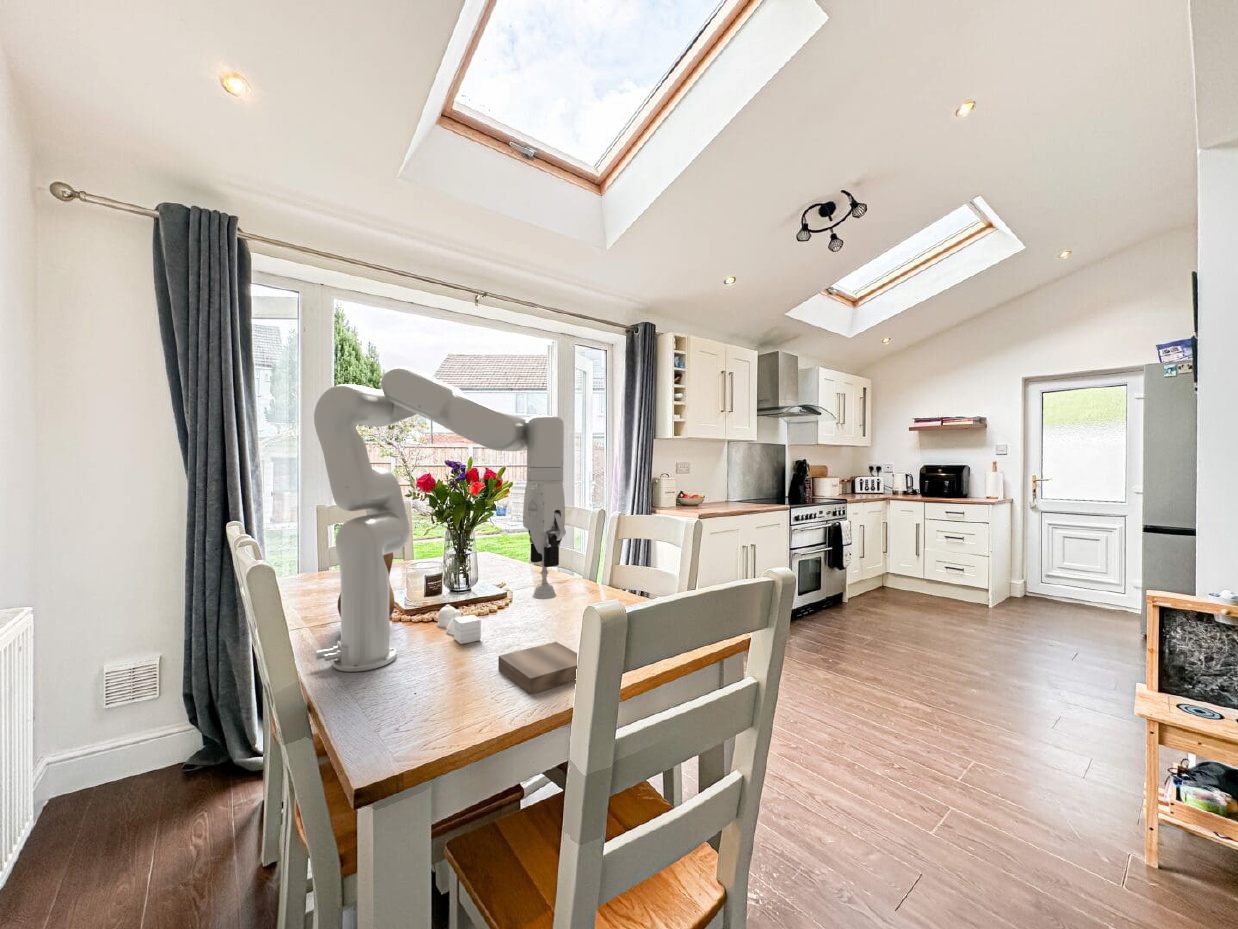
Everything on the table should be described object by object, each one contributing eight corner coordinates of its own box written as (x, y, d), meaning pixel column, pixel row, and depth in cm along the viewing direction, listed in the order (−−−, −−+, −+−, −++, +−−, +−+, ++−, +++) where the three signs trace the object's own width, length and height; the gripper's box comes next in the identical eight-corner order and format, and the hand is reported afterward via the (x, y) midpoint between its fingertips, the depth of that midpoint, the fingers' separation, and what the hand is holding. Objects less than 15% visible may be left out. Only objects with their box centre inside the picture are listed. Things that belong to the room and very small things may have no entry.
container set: (481, 641, 127) (481, 619, 127) (460, 646, 124) (460, 623, 124) (454, 620, 143) (454, 600, 143) (434, 624, 140) (434, 603, 140)
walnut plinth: (530, 694, 98) (530, 678, 98) (498, 670, 109) (498, 655, 109) (591, 675, 107) (591, 661, 107) (556, 654, 118) (556, 641, 118)
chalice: (545, 602, 103) (546, 511, 103) (519, 597, 106) (520, 509, 106) (568, 594, 109) (568, 508, 109) (543, 590, 113) (543, 507, 112)
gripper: (510, 474, 112) (509, 559, 112) (550, 477, 98) (549, 573, 99) (540, 474, 116) (540, 555, 117) (583, 477, 103) (582, 568, 103)
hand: (544, 563), depth 108 cm, fingers closed on chalice, 4 cm apart
